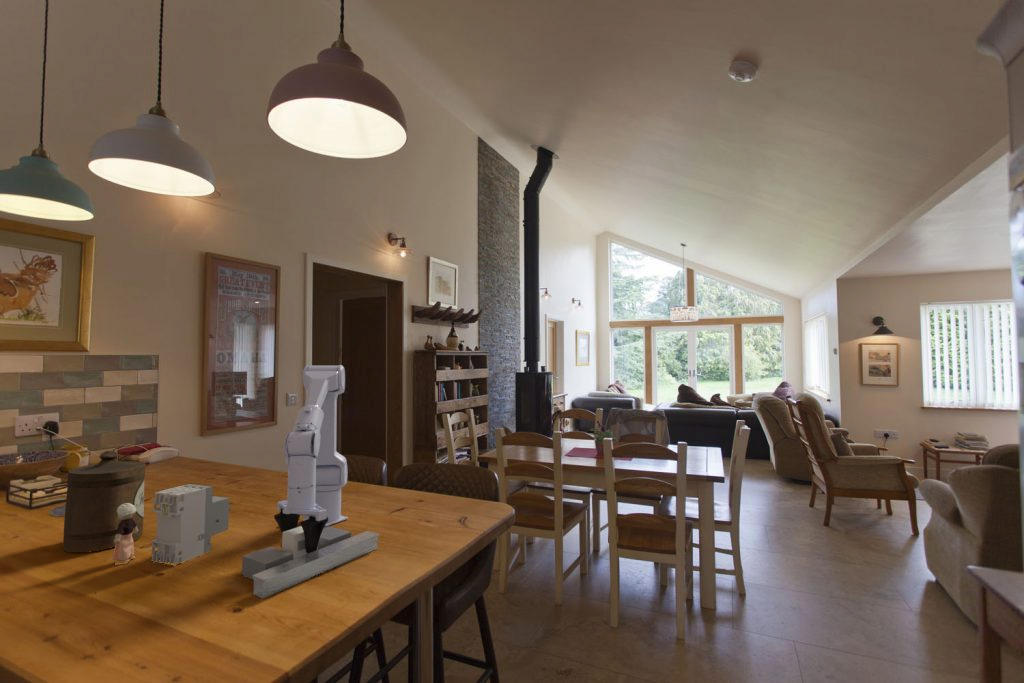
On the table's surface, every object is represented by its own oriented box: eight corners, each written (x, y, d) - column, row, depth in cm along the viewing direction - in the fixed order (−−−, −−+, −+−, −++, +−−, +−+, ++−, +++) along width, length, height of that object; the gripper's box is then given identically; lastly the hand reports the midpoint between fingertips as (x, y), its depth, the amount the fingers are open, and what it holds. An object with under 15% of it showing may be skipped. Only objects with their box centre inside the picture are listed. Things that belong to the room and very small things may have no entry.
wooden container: (155, 536, 120) (158, 448, 121) (82, 558, 106) (87, 458, 107) (122, 528, 126) (126, 444, 127) (49, 547, 112) (54, 453, 114)
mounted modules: (241, 575, 97) (241, 555, 97) (327, 542, 115) (327, 525, 115) (264, 585, 93) (265, 564, 93) (350, 549, 111) (351, 532, 111)
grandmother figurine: (119, 557, 107) (121, 500, 107) (140, 554, 108) (142, 498, 109) (105, 570, 99) (108, 509, 100) (128, 567, 101) (130, 507, 102)
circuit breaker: (233, 543, 115) (235, 480, 116) (175, 566, 102) (177, 495, 102) (211, 539, 118) (213, 478, 118) (151, 561, 104) (153, 492, 105)
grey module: (281, 565, 103) (282, 532, 103) (306, 555, 108) (307, 524, 108) (293, 569, 100) (294, 535, 101) (318, 559, 105) (319, 527, 106)
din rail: (251, 594, 89) (252, 575, 89) (366, 545, 113) (367, 530, 113) (264, 599, 87) (264, 580, 87) (378, 549, 111) (379, 533, 111)
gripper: (265, 485, 105) (263, 547, 104) (306, 494, 98) (305, 561, 97) (293, 478, 111) (292, 537, 111) (335, 486, 104) (333, 550, 103)
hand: (300, 548), depth 104 cm, fingers open, 7 cm apart
